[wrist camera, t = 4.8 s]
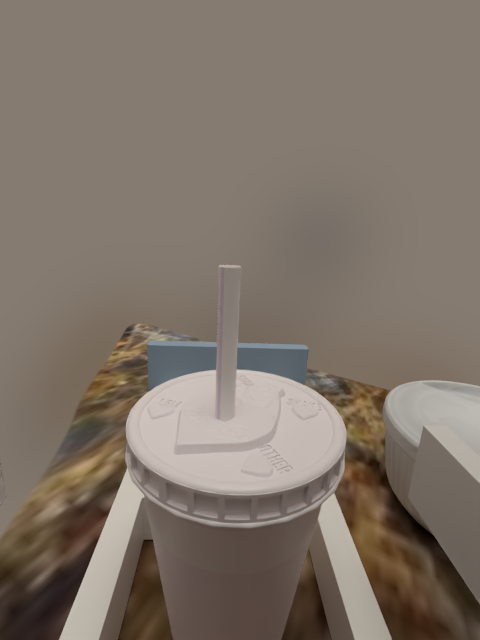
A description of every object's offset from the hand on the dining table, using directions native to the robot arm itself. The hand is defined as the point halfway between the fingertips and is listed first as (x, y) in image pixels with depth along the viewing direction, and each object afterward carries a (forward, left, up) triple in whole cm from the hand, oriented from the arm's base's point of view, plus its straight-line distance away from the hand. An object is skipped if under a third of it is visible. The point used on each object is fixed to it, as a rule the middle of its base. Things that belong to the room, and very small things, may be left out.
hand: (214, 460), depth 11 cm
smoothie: (0, 0, -8) cm, 8 cm away
